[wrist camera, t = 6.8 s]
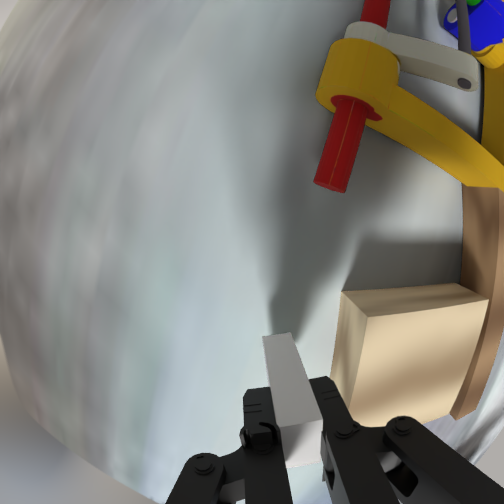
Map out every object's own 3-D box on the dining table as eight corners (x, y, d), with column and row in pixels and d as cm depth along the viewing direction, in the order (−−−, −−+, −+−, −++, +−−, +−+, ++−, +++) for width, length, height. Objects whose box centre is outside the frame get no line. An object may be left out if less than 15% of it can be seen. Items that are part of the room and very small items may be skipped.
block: (339, 289, 16) (367, 317, 12) (451, 281, 16) (488, 299, 12) (322, 407, 17) (337, 446, 14) (424, 386, 18) (448, 413, 14)
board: (461, 174, 14) (497, 174, 11) (481, 175, 14) (516, 176, 11) (435, 397, 18) (455, 420, 15) (455, 388, 18) (475, 409, 15)
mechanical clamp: (317, 161, 8) (385, -115, 2) (283, 175, 14) (365, -82, 9) (551, 296, 10) (538, -1, 4) (495, 272, 16) (506, 13, 11)
